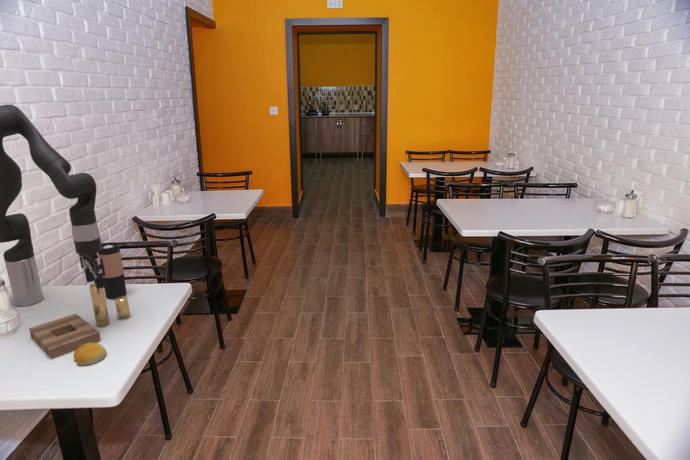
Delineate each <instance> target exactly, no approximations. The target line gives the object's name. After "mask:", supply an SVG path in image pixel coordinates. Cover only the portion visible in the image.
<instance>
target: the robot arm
mask: <svg viewBox="0 0 690 460" xmlns="http://www.w3.org/2000/svg"><path fill="white" fill-rule="evenodd" d="M15 135H20V136H22V137H23V138H24V139H25V140H26V141H27V143H28V147H29V154H30V157H31V160H32V161H33V163H34V164H35V166H37V167H38V168H39V169H40V170H41V171H42V172H44V173H45V175H47V176H48V177H49V179H50V181H51V183H52V184H53V185H54V188H55V189H56V190H57V191H58V193H59V194H60V195H61V196H63V198H66V199H69V200H75V199H77V201H76V203H75V204H73V205H71V206H70V208H69V212H68V213H69V218H70V222H71V232H72V239H73V244H74V249H75V253H76V254H77V255H78V256H79V262H80V268H81V269H83V272H84V274H85V279H86V280H85V281H86V283H91V282H94V281H95V284H96V287H97V288H98V289H100V288H104V281H103V276H105V275H106V274H105V269H104V264H103V259H102V258H99V256H98V251H100V250H101V249H102V244H103V243H102V239H101V234H100V233H101V232H100V227H99V225H98V221H97V216H96V211H95V206H96V196H97V183H96V180H95V179H94V177H93V176H92V175H91V173H90V174H89V173H88V172H87V173H86V172H81V173H75V174H70V175H69V173H71V169H72V166H71V164H70V162H69V161H68V160H67V159H65V157H63V156H62V155H61V154H60V153H59V152H58V151H57V150H55V149H54V148H53V147H52V146H51V145H50V143H48V141H46V139H45V138H44V136H43V135H42V134H41V133H40V131H39V130H38V129H37V128H36V126H35V125H34V124H33V123H32V121H31V120H30V119H29V118H28V116H26V114H25V113H24V112H23V111H22V110H21V109H20V108H19V107H17V106H15V105H14V104H2V105H0V243H1V244H3V243H8V242H9V243H10V242H14V241H17V243H16V244H15V245H13V246H12V247H10V248H8V249H6V250H5V251H4V252H3V259H4V265H5V268H6V272H7V276H8V280H9V281H8V282H9V285H10V289H11V294H12V297H13V301H14V302H13V303H14V305H15V306H17V307H27V306H32V305H35V304H37V303H40V302H41V301H43V300H44V295H43V294H44V293H43V290H42V288H43V287H42V284H41V280H40V275H39V271H38V266H37V261H36V257H35V253H34V245H33V240H32V234H31V228H30V223H29V220H28V218H27V216H26V215H25V214H24V213H21V212H20V213H14V214H9V215H7V211H8V209H9V208H10V206H11V205H12V204H13V203H14V201H15V200H16V199H17V198H18V196H19V195H20V193H21V191H22V188H23V178H22V177H23V175H22V170H21V167H20V166H19V165H18V163H17V162H16V161H15V160H14V159H13V158H12V157H11V156H9V154H8V153H7V152H6V151H5V149H4V144H3V143H4V142H3V140H4V138H7V137H10V136H15Z"/></svg>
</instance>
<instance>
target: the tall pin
mask: <svg viewBox="0 0 690 460" xmlns="http://www.w3.org/2000/svg"><path fill="white" fill-rule="evenodd" d="M88 287H89V292H90V297H91V303H92V308H93V313H94V319H95V323H96V324H95V325H96V327H97V328H104V327H107V326H109V325H110V323H111V322H110V317H109V316H110V315H109V312H108V305H107V304H108V303H107V298H106V294H105V290H104V288H100V289H98V288H97V287H96V283H92V284H91V285H89V286H88Z"/></svg>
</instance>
